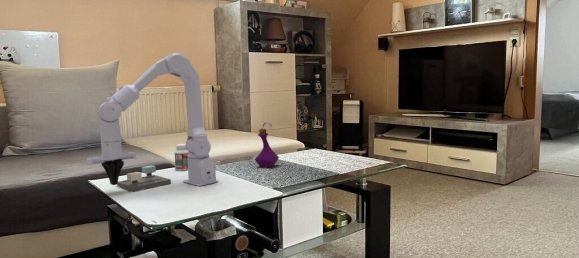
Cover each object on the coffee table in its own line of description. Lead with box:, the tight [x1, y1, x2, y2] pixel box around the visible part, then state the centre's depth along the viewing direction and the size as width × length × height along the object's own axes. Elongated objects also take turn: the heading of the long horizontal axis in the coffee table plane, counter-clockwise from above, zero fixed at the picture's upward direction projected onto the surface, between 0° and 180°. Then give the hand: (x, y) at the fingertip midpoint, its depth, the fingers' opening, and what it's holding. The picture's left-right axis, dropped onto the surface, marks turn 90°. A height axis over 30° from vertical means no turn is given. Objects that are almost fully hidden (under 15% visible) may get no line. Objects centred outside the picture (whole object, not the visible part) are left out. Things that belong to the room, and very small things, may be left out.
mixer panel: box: [116, 174, 172, 192], centre depth 141 cm, size 11×14×2 cm
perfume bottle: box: [254, 121, 280, 169], centre depth 167 cm, size 8×8×18 cm
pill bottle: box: [174, 143, 189, 172], centre depth 165 cm, size 6×6×10 cm
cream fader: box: [126, 171, 143, 184], centre depth 136 cm, size 3×4×3 cm
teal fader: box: [141, 165, 157, 177], centre depth 146 cm, size 3×4×3 cm
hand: (114, 184), depth 131 cm, fingers closed
